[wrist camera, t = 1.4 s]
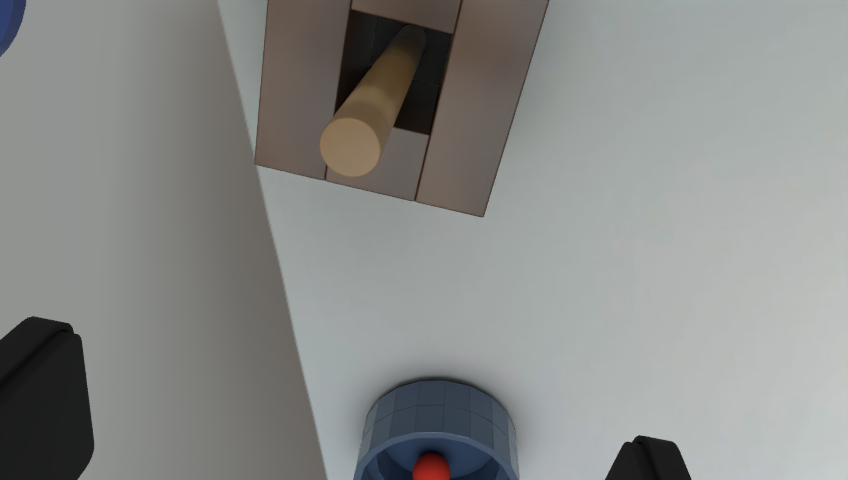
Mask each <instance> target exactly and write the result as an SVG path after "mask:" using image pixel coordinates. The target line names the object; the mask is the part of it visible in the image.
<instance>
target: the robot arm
mask: <svg viewBox="0 0 848 480" xmlns="http://www.w3.org/2000/svg"><path fill="white" fill-rule="evenodd" d="M93 451H94V438H93V429H92V421H91V413H90V405H89V396H88V388H87V381H86V372H85V364H84V355H83V348H82V340H81V337H80V336H79V335H78V334H74V332H73V328H72V327H71V325H70V324H68V323H64V322H58V321H54V320H48V319H44V318H39V317H34V316H33V317H29V318H27V319H25V320H24V321H22V322H21V323H20V324H19V325H17V326H16V327H15V328H14V329H13V330H11V331H10V332H9V333H8V334H7V335H6V336H5V337H3V338H2V339H1V340H0V480H77V479H78V478H79V477H80V475H81V474H82V473H83V471H84V470H85V468H86V467H87V465H88V464H89V462H90V459H91V457H92V454H93ZM605 480H691V477H690V475H689V472H688V470H687V468H686V465H685V463H684V460H683V458H682V455H681V453H680V451H679V449H678V447H677V445H676V444H675V443H674V442H672V441H667V440H662V439H656V438H651V437H646V436H640V435H639V436H637V437H635V439H634V440H633V442H625V443H624V444H623V446H622V448H621V450H620V451H619V453H618V455H617V457H616V459H615V461H614V463H613V465H612V467H611V469H610V471H609V473H608V475H607V477H606V479H605Z"/></svg>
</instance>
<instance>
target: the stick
mask: <svg viewBox="0 0 848 480" xmlns="http://www.w3.org/2000/svg"><path fill="white" fill-rule="evenodd" d="M426 44H427V36H426V34H425V32H424V30H423V29H422V28H421V27H419V26H416V25H412V24H409V25H406V26H404V27H403V28H402V29H401V30H400V31H399V32H398V34H397V35H396V36H395V37H394V39H393V40H392V41H391V43H390V44H389V45H388V47H387V48H386V49H385V50H384V52H383V53H382V54H381V56H380V57H379V58H378V60H377V61H376V62H375V63H374V65H373V66H372V67H371V69H370V70H369V71H368V72H367V74H366V75H365V76H364V78H363V79H362V80H361V82H360V83H359V84H358V85H357V87H356V88H355V89H354V91H353V92H352V93H351V95H350V96H349V97H348V98H347V100H346V101H345V102H344V104H343V105H342V106H341V107H340V109H339V110H338V111H337V113H336V114H335V115H334V117H333V118H332V119H331V120H330V122H329V123H328V124H327V126H326V127H325V128H324V130H323V131H322V133H321V136H320V140H319V149H320V153H321V156H322V158H323V160H324V162H325V163H326V165H327V166H328V167H329V168H330V169H331V170H333V171H334V172H336V173H337V174H339V175H342V176H345V177H360V176H363V175H366V174H368V173H369V172H371V171H372V170H373V169H374V168H375V167H376V165H377V164H378V162H379V160H380V157H381V155H382V152H383V150H384V148H385V145H386V143H387V140H388V138H389V135H390V133H391V130H392V128H393V126H394V123H395V121H396V118H397V116H398V113H399V111H400V108H401V106H402V104H403V101H404V99H405V96H406V94H407V91H408V89H409V86H410V84H411V82H412V79H413V77H414V74H415V72H416V69H417V67H418V64H419V62H420V60H421V57H422V55H423V52H424V50H425V47H426Z"/></svg>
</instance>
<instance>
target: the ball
mask: <svg viewBox="0 0 848 480" xmlns="http://www.w3.org/2000/svg"><path fill="white" fill-rule="evenodd" d="M413 479H414V480H450V468H449V465H448V463H447V461H446V460H445V459H444V458H443V457H442V456H440V455H438V454H434V453H428V454H425V455H423V456H421V457H420V458H419V459H418V460H417V461H416V463H415V465H414V468H413Z"/></svg>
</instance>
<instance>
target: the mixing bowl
mask: <svg viewBox="0 0 848 480" xmlns="http://www.w3.org/2000/svg"><path fill="white" fill-rule="evenodd" d="M428 453H434V454H438V455H440V456H442V457H443V458H444V459H445V460H446V461H447V463H448V465H449V468H450V480H520V479H519V468H518V457H517V447H516V436H515V428H514V426H513V424H512V422H511V420H510V418H509V416H508V414H507V412H506V411H505V410H504V409H503V408H502V407H501V406H500V405H499V404H498V403H497V402H496V401H495V400H494V399H493V398H492V397H490V396H489V395H487V394H485V393H483V392H481V391H479V390H477V389H475V388H473V387H471V386H467V385H463V384H458V383H453V382H449V381H420V382H416V383H412V384H409V385H405V386H402V387H398V388H396V389H394V390H393V391H391V392H390V393H388V394H387V395H385V396H383V397H382V398H380V399H379V400H378V402H377V403H376V404H375V406H374V407H373V408H372V410H371V411H370V412H369V414H368V415H367V419H366V423H365V428H364V432H363V436H362V441H361V446H360V450H359V455H358V460H357V464H356V469H355V474H354V478H353V480H414V479H413V468H414V465H415V463H416V461H417V460H418V459H419V458H420V457H421V456H423V455H425V454H428Z"/></svg>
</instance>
